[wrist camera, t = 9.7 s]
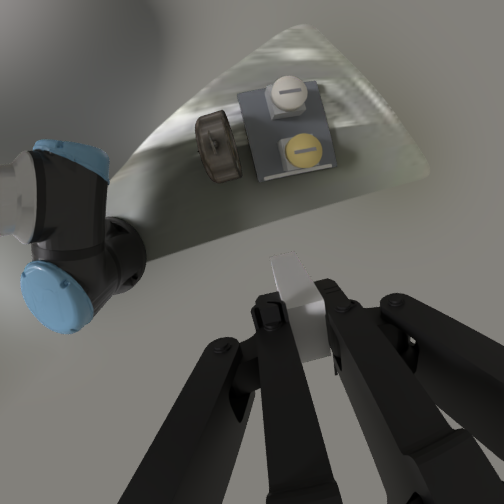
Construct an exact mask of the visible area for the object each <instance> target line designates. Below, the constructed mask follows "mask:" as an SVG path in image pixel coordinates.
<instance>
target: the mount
mask: <svg viewBox="0 0 504 504" xmlns="http://www.w3.org/2000/svg"><path fill="white" fill-rule="evenodd" d="M303 83H304V84H305V85H306V87H307V91H308V94H307V98H306V100H305V102H304V103H303V104H302V105H301V106H300V107H299V108H298V109H296V110H294V111H290V112H287V111H282V110H280V109H278V108H277V107H276V106H275V105H274V104H273V103H272V100H271V91H272V88H273V85H274V84H272V85H267V87H266V88H264V89H258V90H253V91H248V92H243V93H239V94H237V97H238V101H239V105H240V109H241V113H242V117H243V121H244V125H245V129H246V133H247V137H248V141H249V145H250V149H251V153H252V157H253V162H254V166H255V170H256V174H257V178H258V182H263V181H268V180H272V179H277V178H282V177H286V176H291V175H296V174H301V173H306V172H311V171H316V170H321V169H327V168H332V167H337V162H336V158H335V153H334V148H333V144H332V140H331V135H330V131H329V127H328V123H327V119H326V115H325V111H324V107H323V104H322V100H321V96H320V93H319V89H318V86H317V82H316V81H310V82H303ZM302 133H306V134H310V135H313V136H314V137H316V138H317V139H318V140H319V142H320V143H321V146H322V157H321V159H320V161H319V162H318V163H317V164H316V165H315V166H313V167H310V168H297V167H294V166H293V165H291V164H290V163H289V162H288V161H287V159H286V156H285V146H286V144H287V142H288V141H289V140H290V139H291V138H293V137H294V136H296V135H298V134H302Z"/></svg>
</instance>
